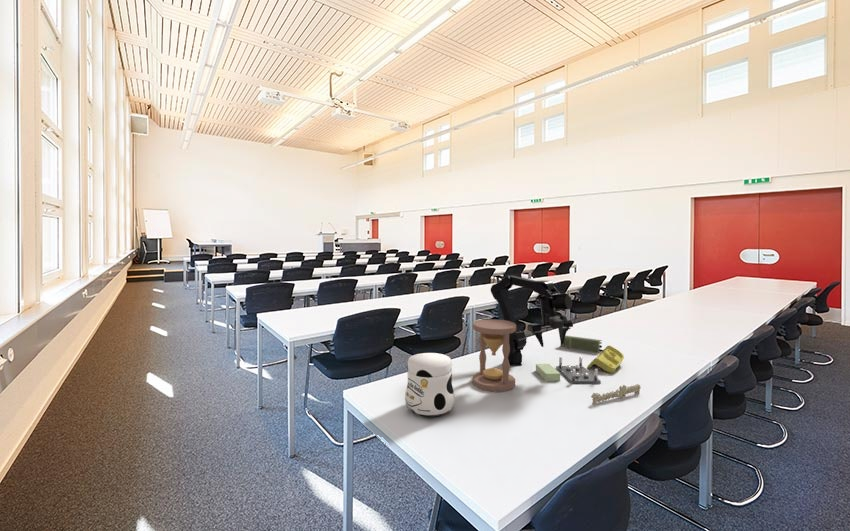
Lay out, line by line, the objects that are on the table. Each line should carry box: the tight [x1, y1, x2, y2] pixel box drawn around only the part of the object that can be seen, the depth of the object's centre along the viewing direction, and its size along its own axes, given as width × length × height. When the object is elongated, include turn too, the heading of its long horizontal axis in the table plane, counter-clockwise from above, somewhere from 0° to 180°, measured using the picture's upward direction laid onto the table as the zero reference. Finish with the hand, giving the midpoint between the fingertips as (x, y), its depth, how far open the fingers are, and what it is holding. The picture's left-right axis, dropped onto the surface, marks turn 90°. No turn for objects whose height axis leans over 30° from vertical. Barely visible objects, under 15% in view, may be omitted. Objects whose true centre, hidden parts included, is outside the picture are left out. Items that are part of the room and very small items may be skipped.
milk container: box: [404, 352, 455, 418], centre depth 133 cm, size 17×17×18 cm
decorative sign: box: [591, 383, 641, 405], centre depth 142 cm, size 24×1×5 cm, turn 113°
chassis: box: [555, 356, 602, 385], centre depth 165 cm, size 12×18×6 cm, turn 0°
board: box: [535, 363, 561, 382], centre depth 165 cm, size 6×12×4 cm, turn 4°
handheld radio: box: [559, 334, 604, 354], centre depth 201 cm, size 7×3×25 cm
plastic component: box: [587, 345, 625, 374], centre depth 178 cm, size 20×7×10 cm
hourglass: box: [471, 318, 517, 393], centre depth 156 cm, size 18×18×25 cm
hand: (552, 345), depth 165 cm, fingers open, 9 cm apart
